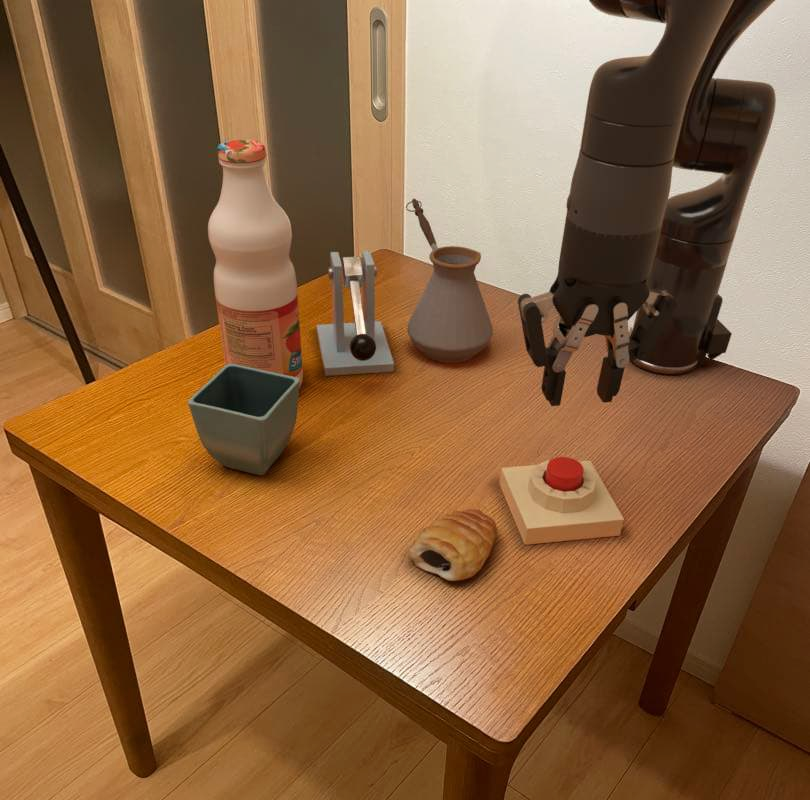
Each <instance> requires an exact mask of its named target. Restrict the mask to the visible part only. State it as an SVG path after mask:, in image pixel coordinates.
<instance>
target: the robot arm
mask: <svg viewBox="0 0 810 800" xmlns="http://www.w3.org/2000/svg"><path fill="white" fill-rule="evenodd" d="M588 1H589V3H590V4H591V5H592V6H593V8H595V9H596V10H597V11H599V12H600V13H603V14H606V15H608V16H612V17H618V18H623V19H624V18H625V19H631V20H639V21H644V22H645V21H646V22H652V23H658V24H665V27H664V31H663V35H662V37H661V38H660V40H659V42H658V44H657V45H656V47H655V48H654V50H653V51H652V53H650V54H649V55H641V56H640V55H639V56H629V57H628V56H627V57H626V56H625V57H620V58H614V59H611V60H608V61H605V62H604V63H602V64H601V65H599V66H598V68H597V69H596V70H595V72H594V73H593V75H592V78H591V81H590V86H589V90H588V96H587V103H586V108H585V115H584V121H583V127H582V134H581V140H580V147H579V151H578V156H577V160H576V164H575V167H574V169H573V173H572V177H571V178H572V179H571V183H570V189H569V193H568V197H567V200H566V213H565V214H566V215H565V222H564V228H563V234H562V240H561V246H560V252H559V259H558V266H557V267H558V269H557V274H556V275H557V276H556V278H555V280H554V281H553V283H552V284H551V286H550V287H549V291H547V292H544V293H541V294H538V295H536V296H531V295H530V294H529V293H523V294H521V295H520V296H519V297H518V298H517V305H518V311H519V317H520V322H521V328H522V333H523V338H524V343H525V345H524V346H525V350H526V352H527V354H528V356H529V357H530V359H531V362H532V363H533V364H534V366H535V367H537V368H541V367H543V374H542V381H541V387H540V388H541V393H542V394H543V396H544V398H545V400H546V401H547V402H548V403H549V404H550V406H551V407H559V406H560V405H561V403H562V398H563V397H562V396H563V391H564V386H565V380H566V376H567V375H566V374H567V371H566V367H567V365H568V363H569V361H570V359H571V357H572V355H573V353H574V352H577V351H578V349H579V348H580V346H581V343H582V342H583V340H584V338H588V337H591V336H594V335H595V336H596V335H599V336H603V337H604V338H605V346H606V352H607V356H603V358H602V363H601V366H600V367H601V368H600V372H599V376H598V381H597V386H596V393H597V396H598V398H599V399H600V401H601V402H602V403H612V401H613V398H614V397H617V396H618V394H619V393H620V390H621V385H622V382H623V381H622V380H623V376H624V372H625V368H626V367H627V366H629V364H630V363H631V362H632V363H633V364H634V365H635V366H637V367H639V368H641V369H643V370H646V371H648V372H653V373H657V374H663V375H681V374H686V373H689V372H691V371H693V370H695V368H698V367H703V366H704V363H705V361H706V357H707V358H708V359H710V361H713V360H714V359H716V358H718V357H719V356H721V355H722V354H726V353H727V350H728V347H729V343H730V341H731V337H732V335H733V332H731V331H730V330H729V329H728V327H726V326H725V325H724V324H723V323H722V322H721V321H720V320H719V319H718V318H719V314H720V311H721V308H722V305H723V300H724V299H723V297H722V296H721V295H720V294H719V291H720V288H721V284H722V282H723V281H722V280H723V278H724V274H725V271H726V268H727V264H728V261H729V257H730V254H731V252H732V251H731V250H732V248H733V245H734V241H735V237H736V234H737V230H738V228H739V224H740V221H741V217H742V214H743V210H744V207H745V203H746V200H747V197H748V195H749V190H750V187H751V184H752V182H753V179H754V176H755V173H756V171H757V168H758V165H759V163H760V160H761V157H762V154H763V152H764V150H765V149H764V148H765V146H766V143H767V140H768V137H769V134H770V131H771V128H772V124H773V120H774V116H775V111H776V103H777V102H776V101H777V98H776V97H777V96H776V92H775V89H774V87H773V86H772V85H771V84H770V83H767V82H761V81H754V80H742V79H732V78H721V77H720V78H719V77H716V78H715V77H714V75H715V74H716V71H717V70H718V68H719V66H720V64H721V63H722V61H723V60H724V58H725V57H726V55H727V53H728V52H729V51H730V49H731V48H732V47H733V46H734V44H735V43H736V41H737V40H738V39H739V38H740V37H741V36H742V34H743V33H744V32H745V31H746V30H747V29H748V28H749V27H750V26H751V25H752V24H753V23H754V22H755V21H756V20H757V19H758V18H759V17H760V16H761V15H763V13H765V12H766V10H767V9H768V8H769V7H770V6H771V5H772V4H774V3H775V2H776V0H588ZM673 168H676V169H679V170H686V171H695V172H704V173H715V174H722V175H721V176H720V177H718V179H716V180H714V181H713V182H711V183H709V184H707V185H706V186H702V187H701V188H698V189H694V190H691V191H687V192H683V193H679V194H678V193H677V194H675V195H673V196H671V197H670V192H671V185H672V177H673ZM553 307H554V308H555V311H556V312H557V314H558V318H557V319H556V322H555V324H554V326H553V329H552V335H551V338H550V341H549V343H548V345H547V346H546V342H545V341H546V340H545V337H544V330H543V324H544V323H546V322H547V319H548V317H549V311H550V310H551V309H552V308H553ZM634 315H635V317H634V321H633V326H632V327H631V326H630V328H629V320H630V319H631V318H632V317H633V316H634Z"/></svg>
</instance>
